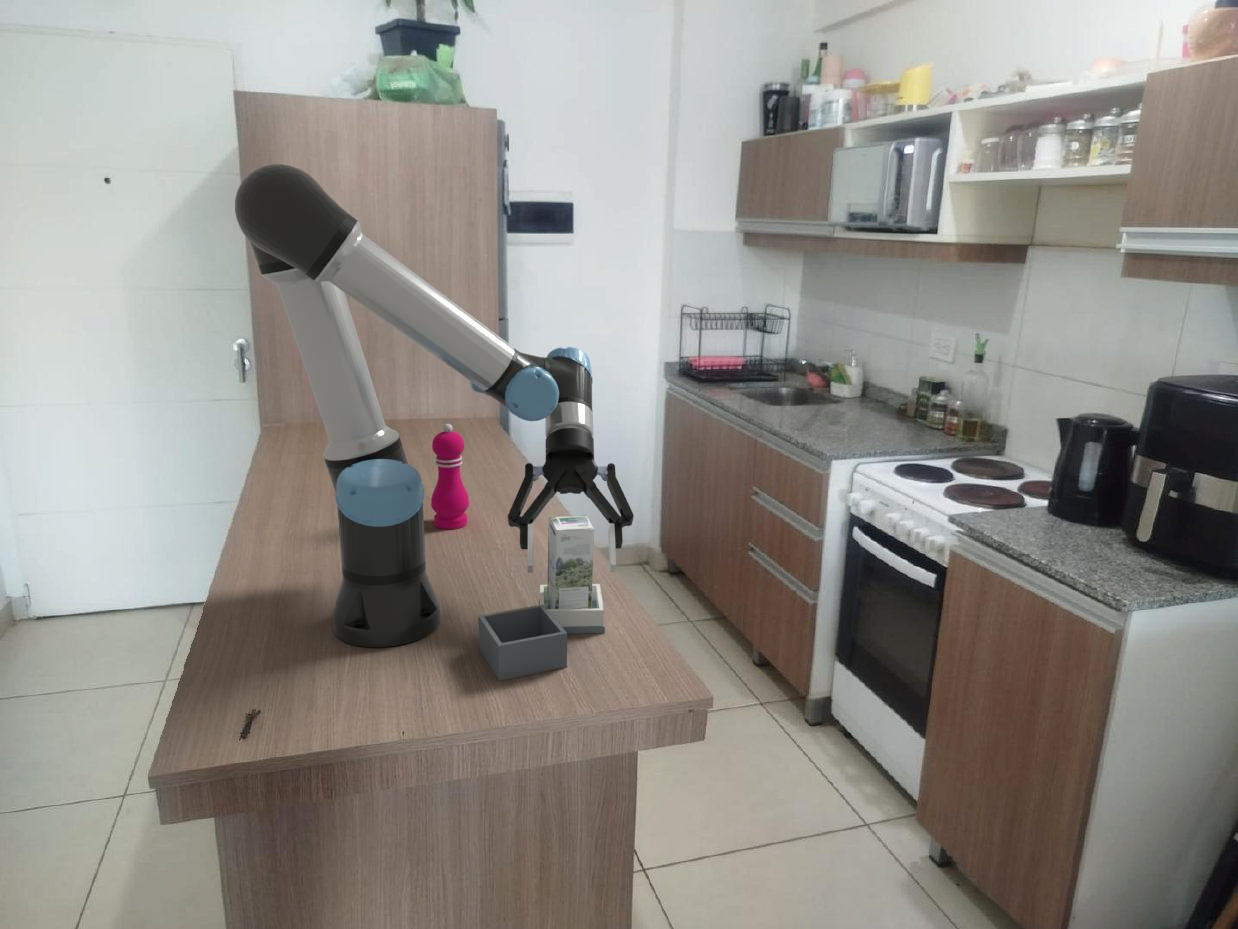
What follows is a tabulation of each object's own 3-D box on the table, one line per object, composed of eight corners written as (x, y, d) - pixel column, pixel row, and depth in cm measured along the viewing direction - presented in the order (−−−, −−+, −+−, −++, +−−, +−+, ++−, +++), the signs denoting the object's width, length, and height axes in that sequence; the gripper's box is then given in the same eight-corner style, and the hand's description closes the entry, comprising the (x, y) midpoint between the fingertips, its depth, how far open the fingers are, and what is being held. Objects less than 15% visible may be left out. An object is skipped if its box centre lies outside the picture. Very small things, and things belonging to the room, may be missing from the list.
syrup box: (583, 601, 133) (585, 512, 129) (592, 618, 127) (594, 526, 123) (546, 605, 131) (547, 515, 127) (554, 622, 126) (555, 529, 122)
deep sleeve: (499, 680, 112) (498, 646, 110) (479, 648, 120) (478, 615, 119) (566, 666, 116) (567, 633, 114) (542, 636, 124) (542, 604, 122)
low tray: (604, 632, 125) (605, 610, 124) (538, 634, 124) (538, 611, 123) (600, 604, 134) (600, 583, 133) (538, 605, 134) (538, 584, 133)
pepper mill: (461, 532, 163) (458, 429, 158) (425, 528, 164) (421, 426, 159) (475, 519, 170) (472, 420, 164) (440, 516, 171) (437, 418, 166)
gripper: (642, 449, 139) (650, 577, 129) (494, 449, 137) (490, 579, 126) (647, 425, 132) (655, 557, 122) (492, 425, 130) (487, 559, 120)
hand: (571, 568), depth 124 cm, fingers open, 11 cm apart
